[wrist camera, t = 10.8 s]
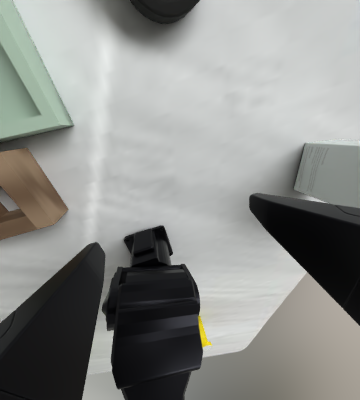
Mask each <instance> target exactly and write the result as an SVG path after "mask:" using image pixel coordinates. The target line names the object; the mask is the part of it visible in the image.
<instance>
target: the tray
mask: <svg viewBox="0 0 360 400" xmlns="http://www.w3.org/2000/svg"><path fill="white" fill-rule="evenodd" d="M70 126H74V124H73V122H72V120H71V118H70V116H69V114H68V112H67V110H66V108H65V106H64V104H63V102H62V100H61V98H60V96H59V94H58V92H57V90H56V88H55V86H54V84H53V81H52V79H51V77H50V75H49V73H48V71H47V69H46V67H45V65H44V63H43V61H42V59H41V57H40V55H39V53H38V51H37V49H36V47H35V45H34V43H33V41H32V39H31V37H30V35H29V33H28V31H27V29H26V27H25V25H24V23H23V21H22V19H21V17H20V15H19V13H18V11H17V9H16V7H15V5H14V3H13V0H0V142H5V141H9V140H13V139H18V138H22V137H26V136H31V135H35V134H39V133H44V132H48V131H52V130H57V129H61V128H66V127H70Z"/></svg>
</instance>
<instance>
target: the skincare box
mask: <svg viewBox="0 0 360 400" xmlns="http://www.w3.org/2000/svg"><path fill="white" fill-rule="evenodd" d="M294 190H296V191H298V192H301V193H303V194H306V195H309V196H311V197H314V198H316V199H319V200H321V201H324V202H327V203H329V204H333V205H342V206H349V207H357V208H360V140H349V139H333V140H325V141H317V142H309V143H305V147H304V151H303V155H302V159H301V163H300V167H299V171H298V175H297V179H296V183H295V186H294Z"/></svg>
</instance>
